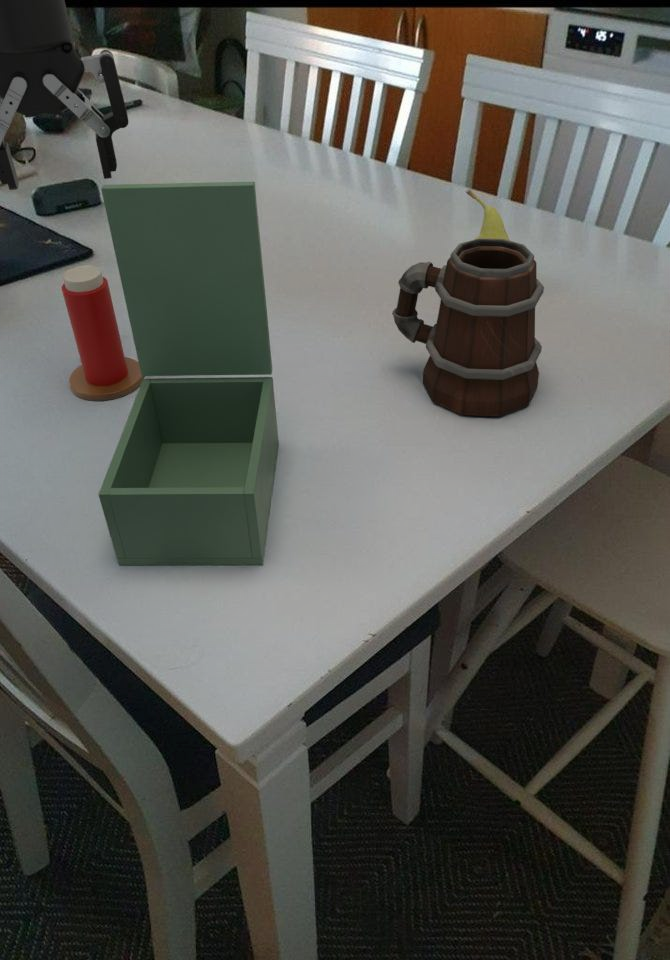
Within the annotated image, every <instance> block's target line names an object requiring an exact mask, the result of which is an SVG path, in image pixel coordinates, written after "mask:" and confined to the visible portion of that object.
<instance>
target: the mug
mask: <svg viewBox="0 0 670 960" xmlns="http://www.w3.org/2000/svg"><path fill="white" fill-rule="evenodd" d="M474 239H475V240H474ZM474 239H471V240H468V241H465V242H461V243H458V245H456V247H454V249H453V250H452V251H451V253H450V257H449V258H448V259H447V261H446V264H445V265H443V266H442V267H437V266H434V263H433V262H431V261H427V262H418V263H415V264H413V265H411V266H410V267H409V268H408V269H407V270H405V271H404V273H403V274H402V275H401V277H400V278H399V280H398V282H397V283H398V286H399V293H398V299H397V304H396V307H395V308H394V309H393V310H392V316H393V320H394V324H395V326H396V327H397V329H398V331H399V332H400V333H401V334H402V335H403V336H404V338H405V339H407V340H409V341H410V342H411V343H413V344H415V343H416V342H418V343H422V344H425V349H426V350H427V353H428V354H429V357H428V359H427V361H426V363H425V365H424V367H423V370H422V371H423V372H422V385H423V386H424V389H426V393H428V396H429V397H430V400H431V401H432V403H435V404H437V405H439V406H442V407H444V408H446V409H448V410H451V411H453V412H455V413H457V414H459V415H462V416H480V417H482V416H483V417H502V416H504V415H507V414H510V413H512V412H515V411H517V410H520V409H523V408H526V407H528V406H529V405H530V404H531V401H532V399H533V397H534V395H535V392H536V391H537V389H538V386H539V385H538V384H539V377H540V370H539V367H538V363H537V361H538V358H539V357H540V355H541V353H542V350H543V349H542V348H543V346H542V344H541V343H540V341H538V339H537V338H536V306H537V304H538V303H539V301H540V299H541V297H542V296H543V294H544V290H545V286H544V285H543V284H542V282H541V281H540V280H539V279H538V278H537V261H536V260H535V254H534V253H532V252H531V250H530V249H529V248H527V246H526V245H525V244H522V243H519V242H515V241H512V240H510V239H509V240H510V241H509V240H506V239H490V238H479V239H476V238H474ZM429 287H431V288H434V291H435V292H436V294H437V295H438V297H439V299H440V303H439V308H438V314H437V319H436V323H435V324H434V325H433V326H432V325H429V324H426V323H425V321H424V319H421V318H418V316H419V315H418V311H417V308H416V307H417V302H418V296H419V294H420V293H421V292H423V289H426V290H427V289H429Z"/></svg>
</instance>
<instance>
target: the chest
mask: <svg viewBox="0 0 670 960" xmlns="http://www.w3.org/2000/svg"><path fill="white" fill-rule="evenodd" d="M138 388H139V389H138V391H137V394H136V395H135V396H136V397H135V399H134V402H133V403H132V407H131V409H130V411H129V414H128V417H127V419H126V422H125V425H124V428H123V429H122V432H121V435H120V437H119V440H118V443H117V446H116V448H115V450H114V453H113V456H112V458H111V461H110V463H109V466H108V468H107V471H106V475H105V476H104V478H103V481H102V484H101V487H100V490H99V492H98V494H97V495H98V498H99V501H100V505H101V508H102V509H101V510H102V512H103V515H104V519H105V523H106V525H107V528H108V533H109V536H110V541H111V542H112V547H113V550H114V554H115V557H116V560H117V564H118V566H259V565H260V566H262V565H264V560H265V559H264V557H265V550H266V542H267V535H268V529H269V522H270V521H269V520H270V513H271V505H272V497H273V491H274V485H275V483H274V482H275V477H276V468H277V461H278V453H279V447H280V446H279V445H280V442H279V431H278V421H277V420H278V419H277V410H276V409H277V408H276V401H275V399H276V398H275V392H274V391H275V390H274V389H275V388H274V378H273V376H245V377H244V376H243V377H242V376H238V377H237V376H235V377H232V376H231V377H175V378H174V377H170V378H169V377H165V378H164V377H162V378H161V377H158V378H157V377H155V378H149V377H148V378H144V379H143V381H142V383H141V385H140V386H139V387H138Z"/></svg>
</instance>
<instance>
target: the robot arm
mask: <svg viewBox="0 0 670 960" xmlns="http://www.w3.org/2000/svg"><path fill="white" fill-rule="evenodd" d="M85 72H89V73H91V74H92V75H93V78H94V80H95V81H96V82H98V83H99V84H100V83H101V84H104V86H105V89H106V92H107V96H108V100H109V104H110V109H111V112H109V113H107V114H103V113H102V112H101V111H100V110H99V109H98V108H97V107H96V106H95V105H94V104H93V103H92V101H91V100H90V99H89V98H88V97H87V96H86V94H84V93H83V91H81V90H80V89H79V86H80V84H81V82H82V80H83V77H84V75H85ZM118 73H119V72H118V70H117V65H116V62H115V57H114V54H113V53H112V51H111V50H108V49H103V50H101V51H100V52H99V53H98V54H93V55H87V56H81V54H80V53H79V51H78V50H77V49H76V46H75V43H74V38H73V33H72V29H71V24H70V19H69V15H68V9H67V6H66V1H65V0H0V98H1V101H0V183H1V184H2V185H7V187H8V189H9V191H14V190H18V189H19V184H20V183H19V178H18V174H17V171H16V168H15V164H14V161H13V157H12V153H11V149H10V145H9V141H5V136H6V134H7V132H8V130H9V128H10V126H11V124H12V121H13V119H14V117H15V115H16V113H17V114H19V115H22V116H24V117H25V118H35V117H37V116H40V115H43V114H47V115H52V116H53V115H63V112H65V111H66V110H68V109H69V110H70V111H71V112H72V113H73V114H74V115H75V116H76V117H77V118H78V119H79V120H80V121H82V122H84V123H85V124H86V125H87V126H88V127H89V128H90V129H91V130H92V131H93V132H94V133H95V142H96V147H97V152H98V157H99V162H100V166H101V171H102V176H103V179H104V180H107V179H108V180H110V179H112V173H113V172H116V171H117V167H118V162H117V157H116V152H115V146H114V141H113V134H114V133H115V132H116V131H117V130H120V129H125V128H127V126H128V125H129V122H130V121H129V115H128V111H127V107H126V102H125V98H124V94H123V89H122V86H121V81H120V78H119V74H118Z"/></svg>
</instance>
